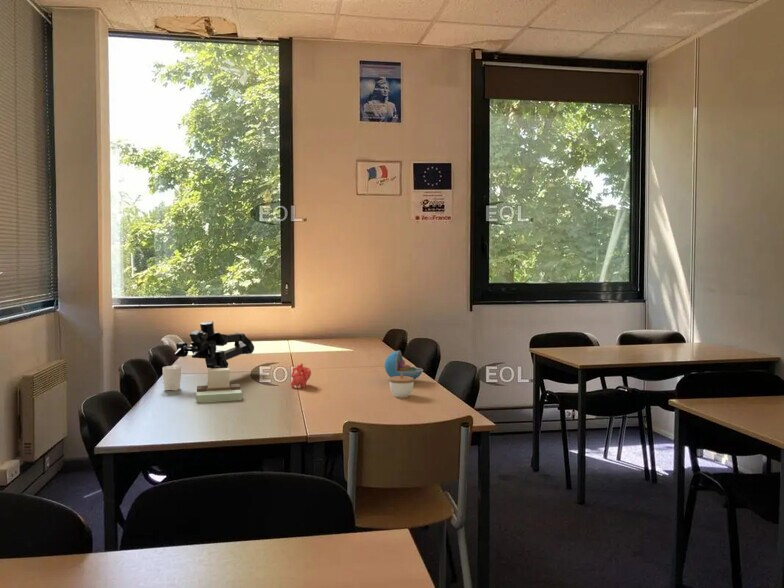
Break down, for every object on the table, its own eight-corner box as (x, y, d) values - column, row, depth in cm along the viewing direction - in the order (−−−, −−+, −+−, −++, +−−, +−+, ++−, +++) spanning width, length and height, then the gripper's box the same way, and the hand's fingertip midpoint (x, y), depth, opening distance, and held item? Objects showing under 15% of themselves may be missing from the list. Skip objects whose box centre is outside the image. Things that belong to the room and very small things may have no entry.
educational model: (420, 385, 282) (420, 353, 281) (381, 383, 286) (381, 352, 285) (425, 379, 297) (425, 349, 297) (388, 377, 301) (388, 347, 300)
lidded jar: (385, 394, 264) (385, 373, 263) (408, 392, 268) (408, 371, 267) (394, 399, 254) (394, 377, 253) (417, 397, 258) (417, 376, 257)
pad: (196, 399, 252) (196, 392, 252) (240, 396, 257) (240, 389, 257) (196, 402, 246) (196, 395, 245) (241, 400, 251) (241, 392, 251)
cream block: (207, 385, 264) (207, 368, 264) (229, 384, 267) (228, 367, 266) (207, 388, 259) (207, 371, 258) (229, 387, 261) (229, 370, 261)
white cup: (161, 391, 265) (161, 369, 264) (163, 387, 273) (163, 366, 272) (180, 390, 267) (180, 368, 267) (182, 387, 275) (181, 365, 274)
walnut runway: (197, 392, 264) (197, 385, 263) (239, 390, 269) (239, 383, 269) (196, 399, 252) (196, 392, 252) (240, 396, 257) (240, 389, 257)
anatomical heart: (307, 386, 285) (313, 363, 284) (306, 392, 273) (313, 368, 272) (288, 382, 284) (295, 358, 283) (287, 388, 272) (294, 363, 271)
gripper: (186, 327, 281) (163, 337, 266) (220, 329, 275) (199, 339, 260) (189, 350, 283) (166, 361, 269) (222, 353, 277) (202, 364, 262)
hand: (183, 355), depth 265 cm, fingers open, 9 cm apart
